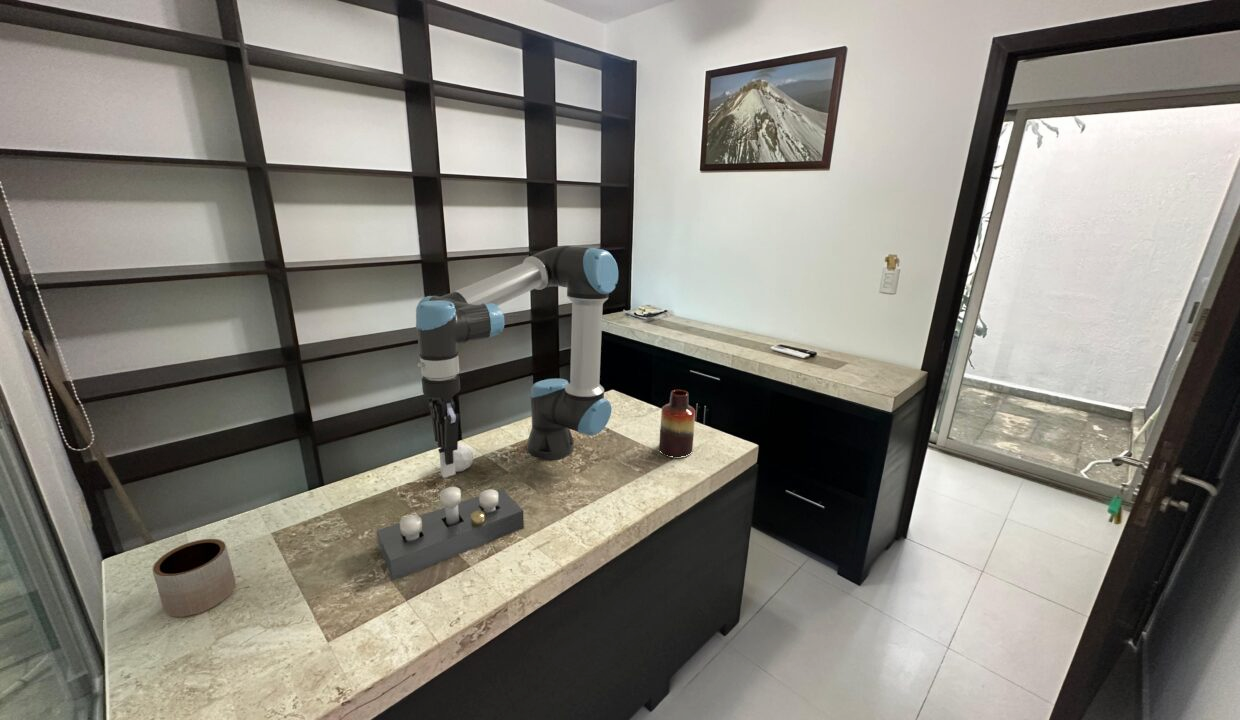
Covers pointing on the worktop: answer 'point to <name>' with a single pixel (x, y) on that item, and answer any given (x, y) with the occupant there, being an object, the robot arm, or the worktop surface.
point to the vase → (677, 425)
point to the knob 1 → (411, 527)
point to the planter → (194, 577)
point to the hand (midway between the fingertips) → (448, 474)
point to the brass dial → (477, 518)
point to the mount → (447, 535)
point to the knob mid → (451, 504)
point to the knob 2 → (489, 500)
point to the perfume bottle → (462, 457)
